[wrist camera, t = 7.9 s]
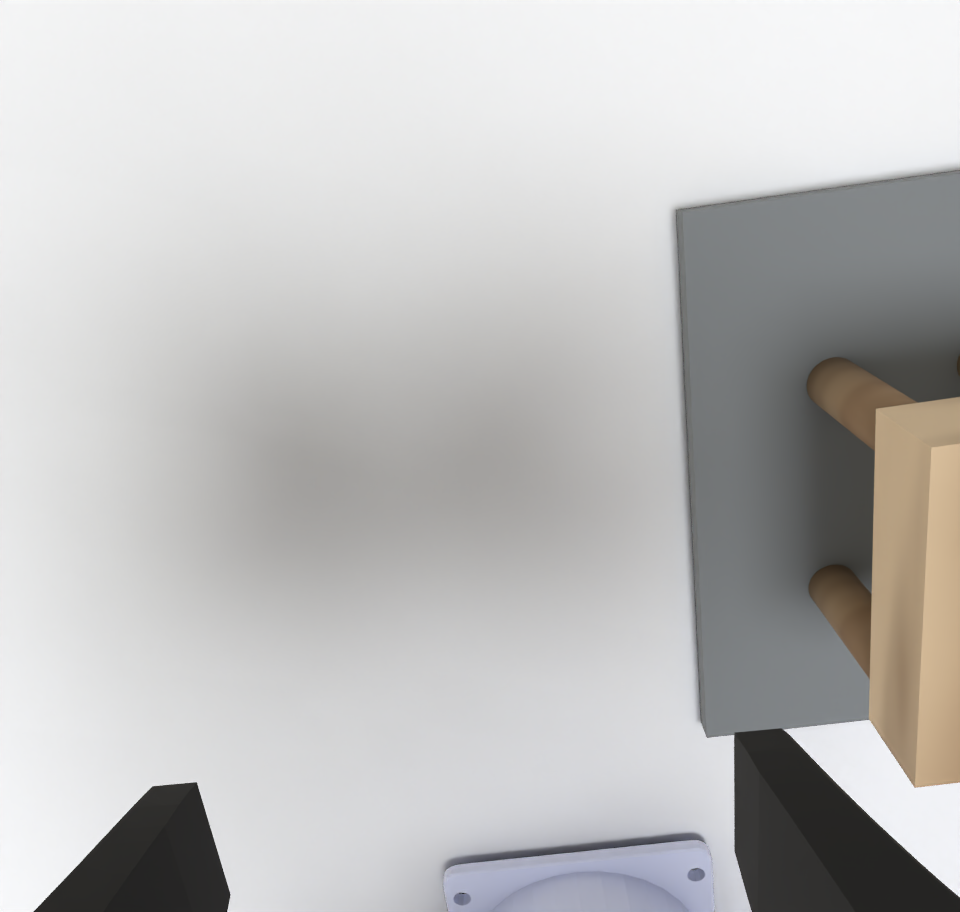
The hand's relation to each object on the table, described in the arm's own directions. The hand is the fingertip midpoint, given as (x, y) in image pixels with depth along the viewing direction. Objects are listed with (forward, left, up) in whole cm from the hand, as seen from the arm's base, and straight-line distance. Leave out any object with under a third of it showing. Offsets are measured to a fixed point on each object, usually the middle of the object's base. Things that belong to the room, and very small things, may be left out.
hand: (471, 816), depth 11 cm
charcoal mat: (-1, -10, -10) cm, 15 cm away
